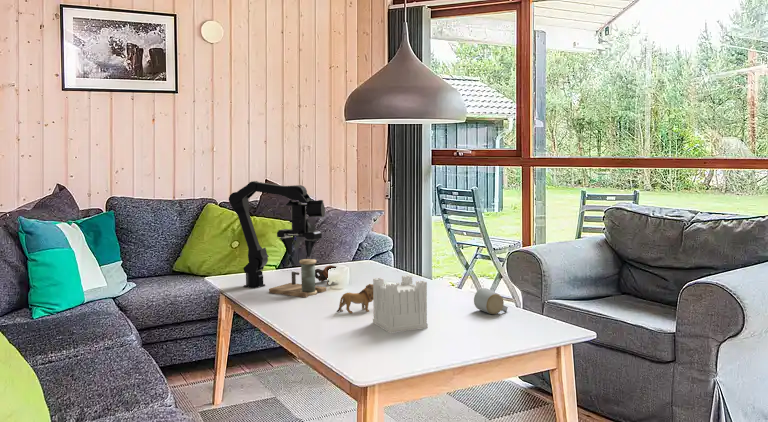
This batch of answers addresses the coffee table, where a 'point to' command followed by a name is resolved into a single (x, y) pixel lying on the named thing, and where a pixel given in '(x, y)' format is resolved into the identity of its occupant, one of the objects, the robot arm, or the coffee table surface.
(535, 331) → the coffee table surface
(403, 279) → the castle model
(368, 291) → the lion figurine
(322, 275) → the winged dragon figurine
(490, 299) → the ceramic mug
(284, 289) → the wooden plank structure
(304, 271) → the cord spool
